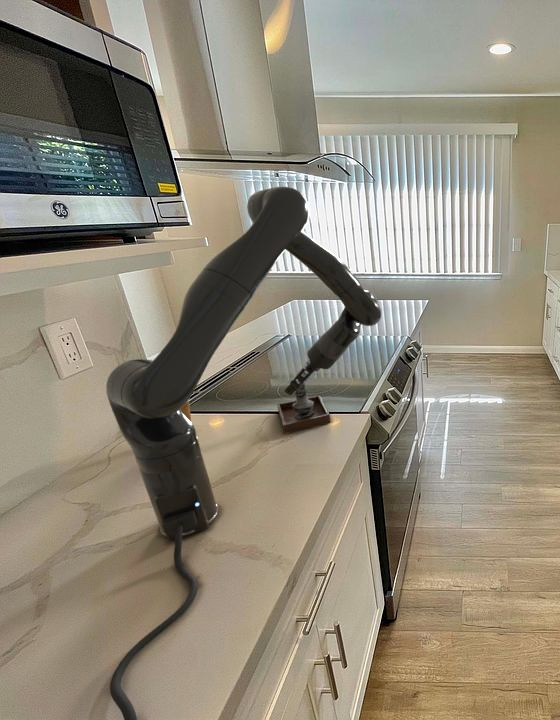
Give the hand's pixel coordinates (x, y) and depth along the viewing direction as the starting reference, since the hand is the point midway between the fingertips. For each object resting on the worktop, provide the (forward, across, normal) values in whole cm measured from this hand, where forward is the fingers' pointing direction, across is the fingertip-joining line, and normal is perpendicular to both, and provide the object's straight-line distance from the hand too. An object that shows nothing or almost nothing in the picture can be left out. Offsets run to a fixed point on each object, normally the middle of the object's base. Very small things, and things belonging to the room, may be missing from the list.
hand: (294, 386), depth 114 cm
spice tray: (+6, 0, +8) cm, 10 cm away
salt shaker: (+5, 0, +8) cm, 10 cm away
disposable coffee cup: (+27, +10, -13) cm, 32 cm away
